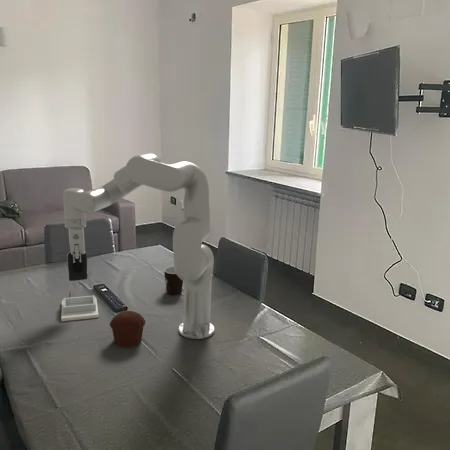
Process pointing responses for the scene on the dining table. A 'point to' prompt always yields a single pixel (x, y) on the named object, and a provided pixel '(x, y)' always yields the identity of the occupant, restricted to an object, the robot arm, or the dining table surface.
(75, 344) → the dining table surface
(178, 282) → the coffee mug
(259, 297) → the dining table surface
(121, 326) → the muffin
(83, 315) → the dock
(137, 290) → the dining table surface
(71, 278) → the battery charger
